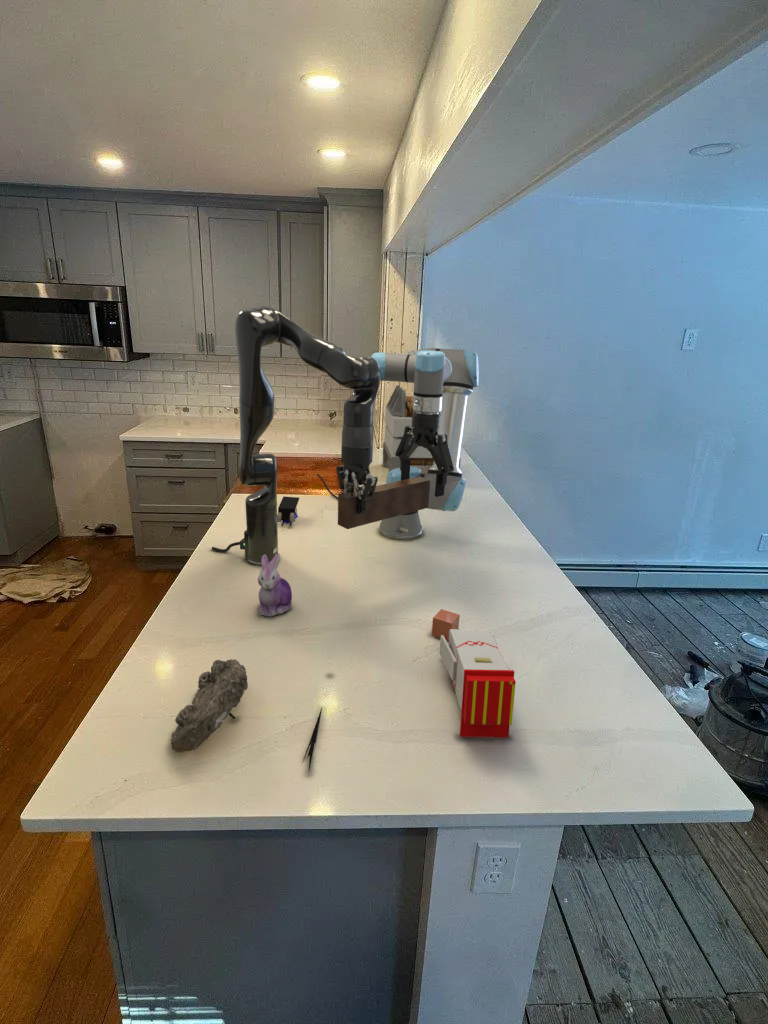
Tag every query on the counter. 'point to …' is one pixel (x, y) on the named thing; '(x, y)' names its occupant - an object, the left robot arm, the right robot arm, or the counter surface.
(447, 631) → the terracotta block
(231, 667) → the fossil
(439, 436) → the right robot arm
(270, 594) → the figurine
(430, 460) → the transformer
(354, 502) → the plank
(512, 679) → the toy
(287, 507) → the figurine character
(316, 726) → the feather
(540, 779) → the counter surface
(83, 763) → the counter surface
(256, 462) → the left robot arm
